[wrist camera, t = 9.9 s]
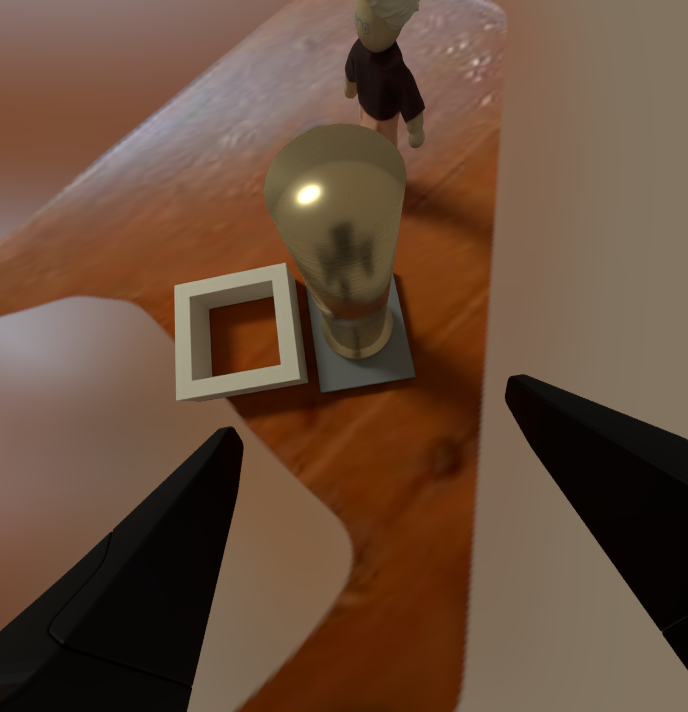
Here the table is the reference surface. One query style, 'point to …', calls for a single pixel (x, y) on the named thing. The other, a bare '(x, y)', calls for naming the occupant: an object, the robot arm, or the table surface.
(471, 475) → the table surface
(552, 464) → the robot arm
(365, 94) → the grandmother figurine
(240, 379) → the socket
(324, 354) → the slate pad
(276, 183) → the light bulb
